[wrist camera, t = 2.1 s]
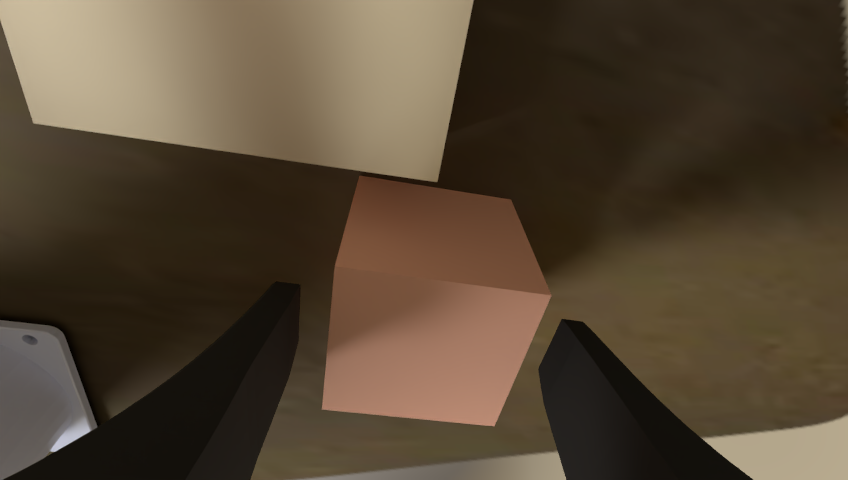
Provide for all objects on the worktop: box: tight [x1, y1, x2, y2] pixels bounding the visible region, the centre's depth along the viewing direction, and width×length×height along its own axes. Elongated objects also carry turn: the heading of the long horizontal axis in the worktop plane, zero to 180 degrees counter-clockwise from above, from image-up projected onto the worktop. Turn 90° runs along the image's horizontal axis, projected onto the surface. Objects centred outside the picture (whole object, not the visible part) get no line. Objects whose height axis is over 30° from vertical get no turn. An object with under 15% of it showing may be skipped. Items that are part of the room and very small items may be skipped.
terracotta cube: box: [322, 175, 552, 426], centre depth 13 cm, size 5×5×5 cm
